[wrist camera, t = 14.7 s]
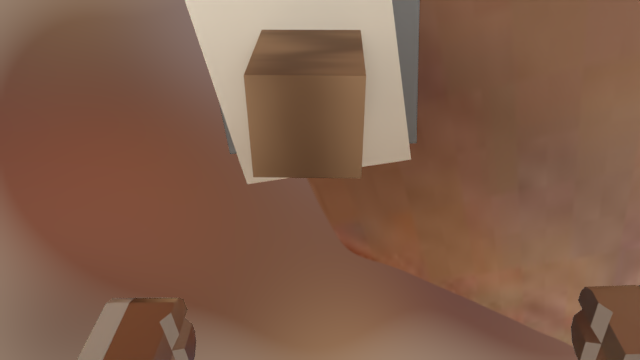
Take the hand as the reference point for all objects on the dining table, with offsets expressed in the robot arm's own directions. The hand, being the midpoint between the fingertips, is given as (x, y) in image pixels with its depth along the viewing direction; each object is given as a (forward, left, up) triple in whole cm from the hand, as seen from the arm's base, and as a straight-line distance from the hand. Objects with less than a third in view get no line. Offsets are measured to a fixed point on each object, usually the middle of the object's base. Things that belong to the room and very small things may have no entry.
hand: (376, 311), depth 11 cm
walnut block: (+2, +2, -18) cm, 19 cm away
